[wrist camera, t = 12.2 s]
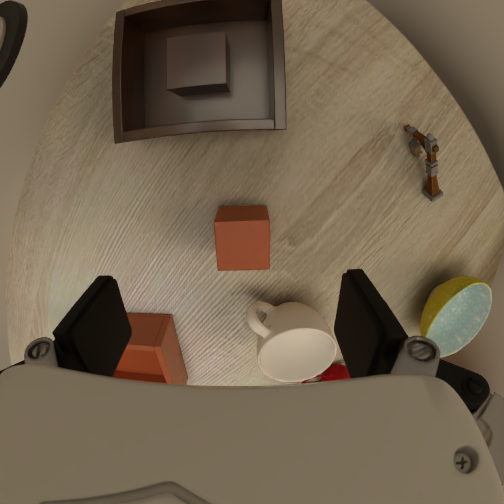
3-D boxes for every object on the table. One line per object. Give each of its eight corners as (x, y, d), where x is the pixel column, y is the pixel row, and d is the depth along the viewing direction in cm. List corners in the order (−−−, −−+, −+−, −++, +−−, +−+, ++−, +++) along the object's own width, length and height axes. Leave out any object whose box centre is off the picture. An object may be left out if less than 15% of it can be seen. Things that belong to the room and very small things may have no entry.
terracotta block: (221, 249, 27) (217, 271, 23) (219, 206, 26) (213, 221, 22) (266, 248, 27) (269, 269, 24) (266, 205, 26) (269, 219, 22)
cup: (290, 349, 33) (297, 390, 27) (225, 310, 31) (221, 353, 24) (335, 310, 31) (352, 349, 25) (271, 262, 28) (277, 301, 22)
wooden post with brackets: (410, 114, 21) (442, 134, 18) (419, 173, 26) (445, 196, 23) (397, 121, 21) (429, 142, 18) (408, 180, 27) (433, 203, 24)
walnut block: (180, 96, 21) (166, 89, 17) (179, 52, 19) (166, 38, 15) (230, 92, 21) (226, 83, 17) (229, 47, 19) (225, 31, 15)
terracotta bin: (111, 369, 36) (99, 396, 31) (84, 309, 31) (65, 336, 26) (188, 377, 36) (182, 408, 31) (171, 314, 31) (160, 347, 26)
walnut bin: (140, 139, 23) (114, 143, 18) (139, 30, 18) (116, 11, 13) (277, 130, 23) (286, 129, 18) (274, 16, 18) (281, -10, 13)
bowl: (423, 255, 28) (451, 281, 23) (477, 262, 29) (503, 284, 23) (393, 331, 33) (411, 362, 27) (448, 327, 34) (467, 352, 28)
